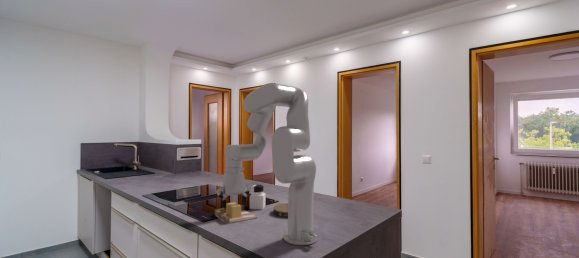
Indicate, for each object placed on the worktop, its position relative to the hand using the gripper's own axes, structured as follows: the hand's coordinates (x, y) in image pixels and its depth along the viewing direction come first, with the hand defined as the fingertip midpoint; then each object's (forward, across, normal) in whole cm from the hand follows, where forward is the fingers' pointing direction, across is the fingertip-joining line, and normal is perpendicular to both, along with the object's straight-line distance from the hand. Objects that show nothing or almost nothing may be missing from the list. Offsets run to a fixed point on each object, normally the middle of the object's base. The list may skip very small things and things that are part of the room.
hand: (234, 206), depth 130 cm
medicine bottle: (+5, -16, -8) cm, 19 cm away
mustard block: (+4, 0, 0) cm, 4 cm away
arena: (+5, 0, 0) cm, 5 cm away
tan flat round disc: (+6, -25, +9) cm, 28 cm away
